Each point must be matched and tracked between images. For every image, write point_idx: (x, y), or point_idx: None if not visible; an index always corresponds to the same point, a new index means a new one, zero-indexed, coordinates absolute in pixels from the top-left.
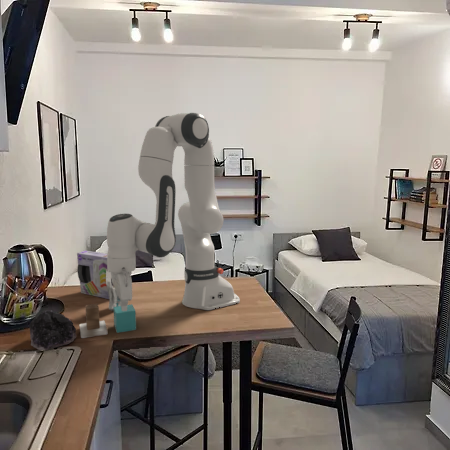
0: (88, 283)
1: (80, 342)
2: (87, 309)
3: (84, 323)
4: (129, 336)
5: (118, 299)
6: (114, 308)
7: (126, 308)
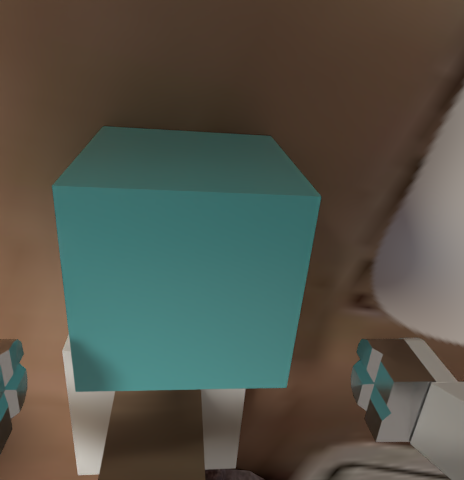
0: None
1: (282, 444)
2: None
3: (77, 453)
4: (360, 209)
5: (14, 402)
6: (136, 387)
7: (429, 359)
